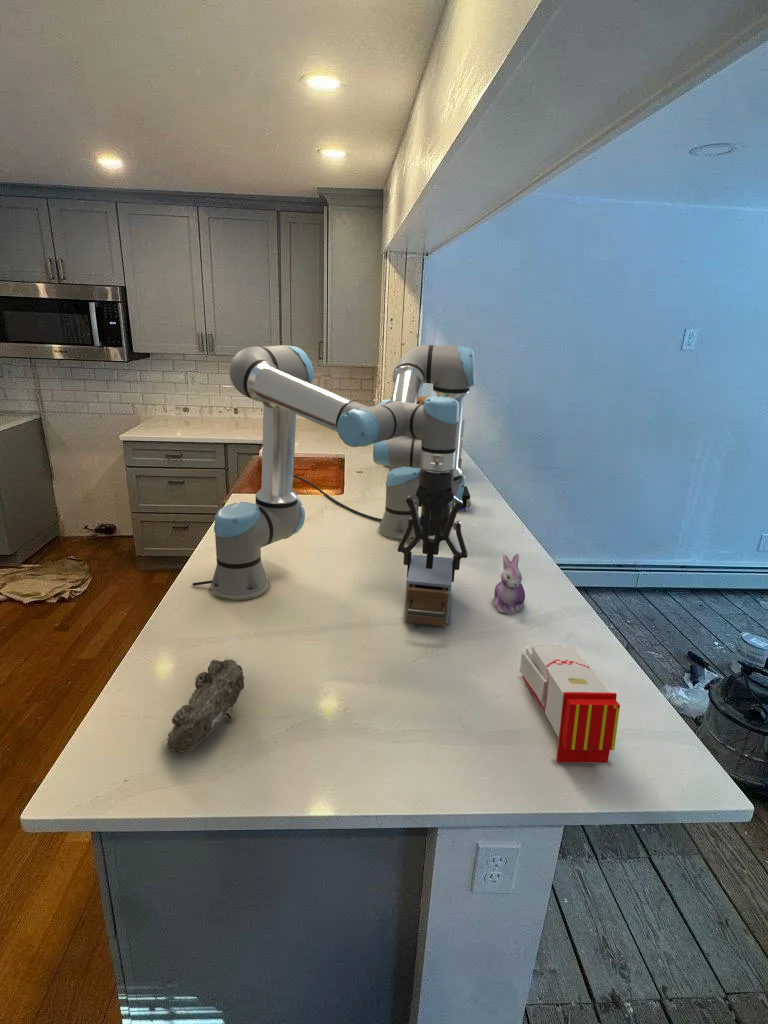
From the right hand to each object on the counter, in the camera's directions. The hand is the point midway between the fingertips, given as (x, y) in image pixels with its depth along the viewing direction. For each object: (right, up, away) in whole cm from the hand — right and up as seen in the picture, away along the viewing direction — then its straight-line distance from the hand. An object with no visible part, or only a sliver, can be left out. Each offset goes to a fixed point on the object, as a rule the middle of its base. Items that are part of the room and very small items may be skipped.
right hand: (430, 577), depth 154 cm
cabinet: (-1, -7, -2) cm, 8 cm away
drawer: (-2, -9, -8) cm, 12 cm away
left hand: (-2, +5, -21) cm, 22 cm away
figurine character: (+18, +20, +75) cm, 80 cm away
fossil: (-45, -21, -46) cm, 68 cm away
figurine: (+21, -8, 0) cm, 23 cm away
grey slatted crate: (+5, +37, +121) cm, 127 cm away
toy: (+22, -22, -40) cm, 51 cm away
